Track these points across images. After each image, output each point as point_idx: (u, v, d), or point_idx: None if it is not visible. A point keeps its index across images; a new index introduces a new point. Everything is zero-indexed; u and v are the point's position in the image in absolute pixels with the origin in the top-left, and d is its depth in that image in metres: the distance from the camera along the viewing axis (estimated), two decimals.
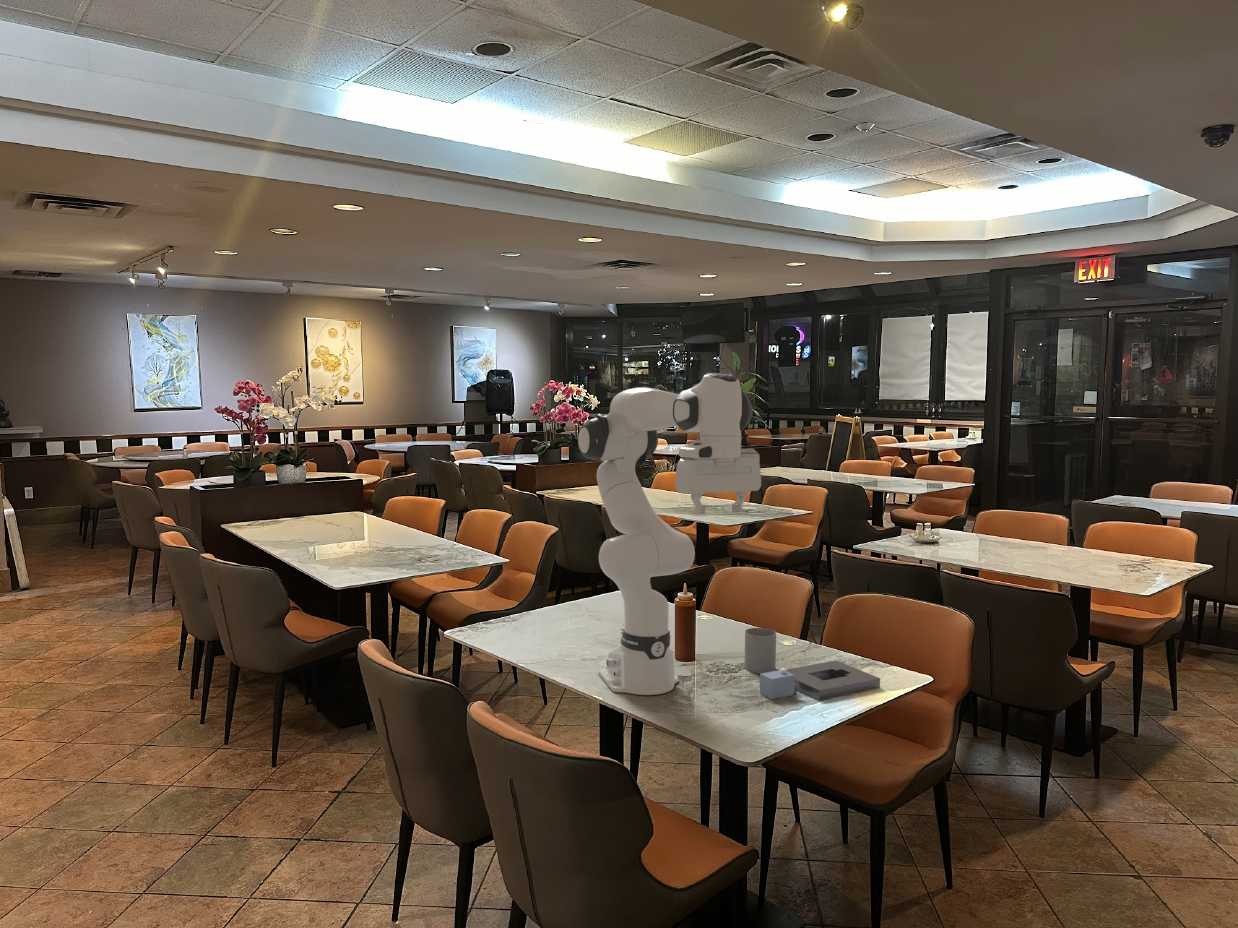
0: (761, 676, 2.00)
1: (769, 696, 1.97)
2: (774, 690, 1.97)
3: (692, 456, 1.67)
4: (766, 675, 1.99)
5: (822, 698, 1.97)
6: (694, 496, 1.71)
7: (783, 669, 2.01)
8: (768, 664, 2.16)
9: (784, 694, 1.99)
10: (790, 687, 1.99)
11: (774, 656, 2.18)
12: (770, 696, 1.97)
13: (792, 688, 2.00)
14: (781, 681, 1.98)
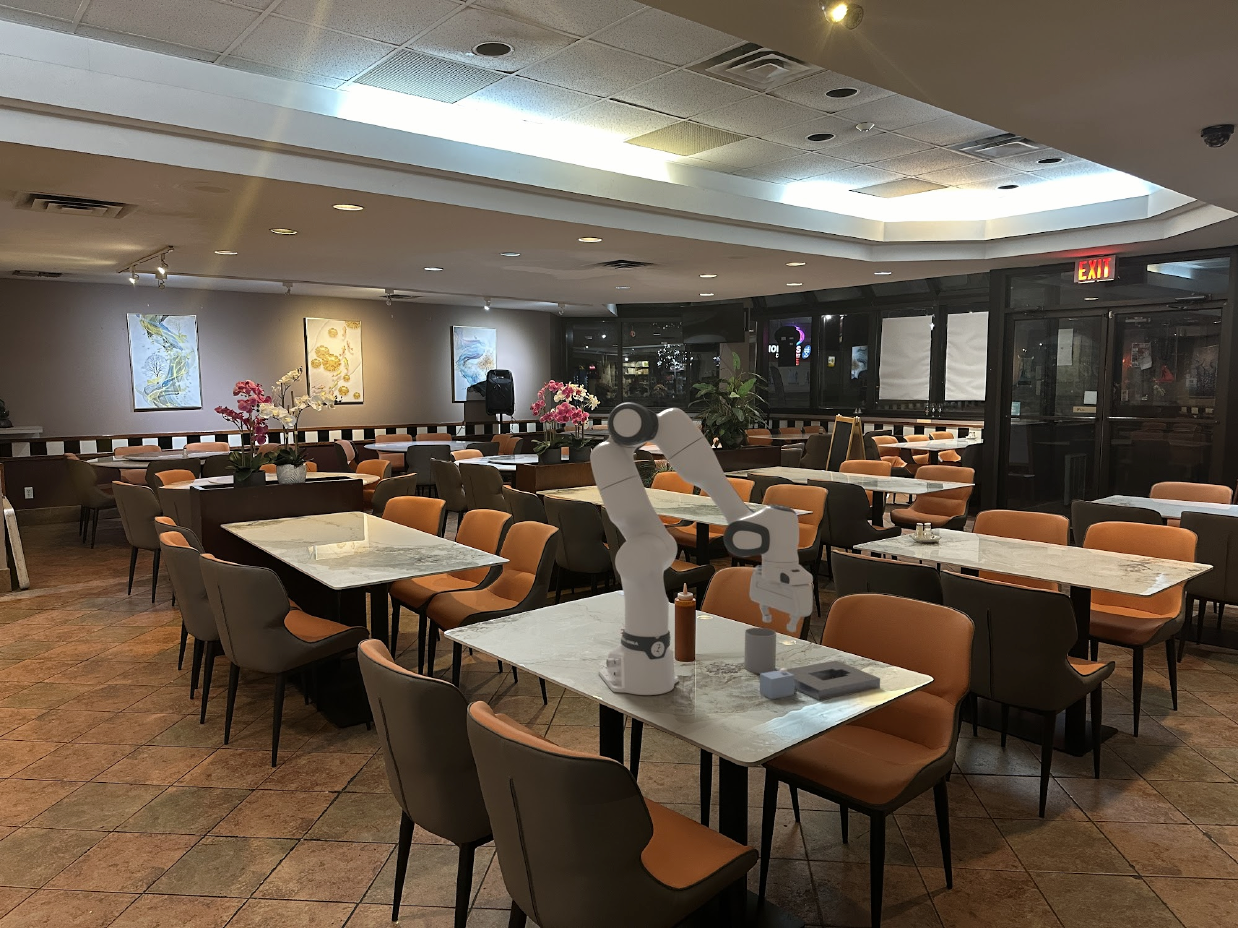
0: (761, 676, 2.00)
1: (769, 696, 1.97)
2: (774, 690, 1.97)
3: (810, 581, 1.92)
4: (766, 675, 1.99)
5: (822, 698, 1.97)
6: (797, 616, 1.93)
7: (783, 669, 2.01)
8: (768, 664, 2.16)
9: (784, 694, 1.99)
10: (790, 687, 1.99)
11: (774, 656, 2.18)
12: (770, 696, 1.97)
13: (792, 688, 2.00)
14: (781, 681, 1.98)
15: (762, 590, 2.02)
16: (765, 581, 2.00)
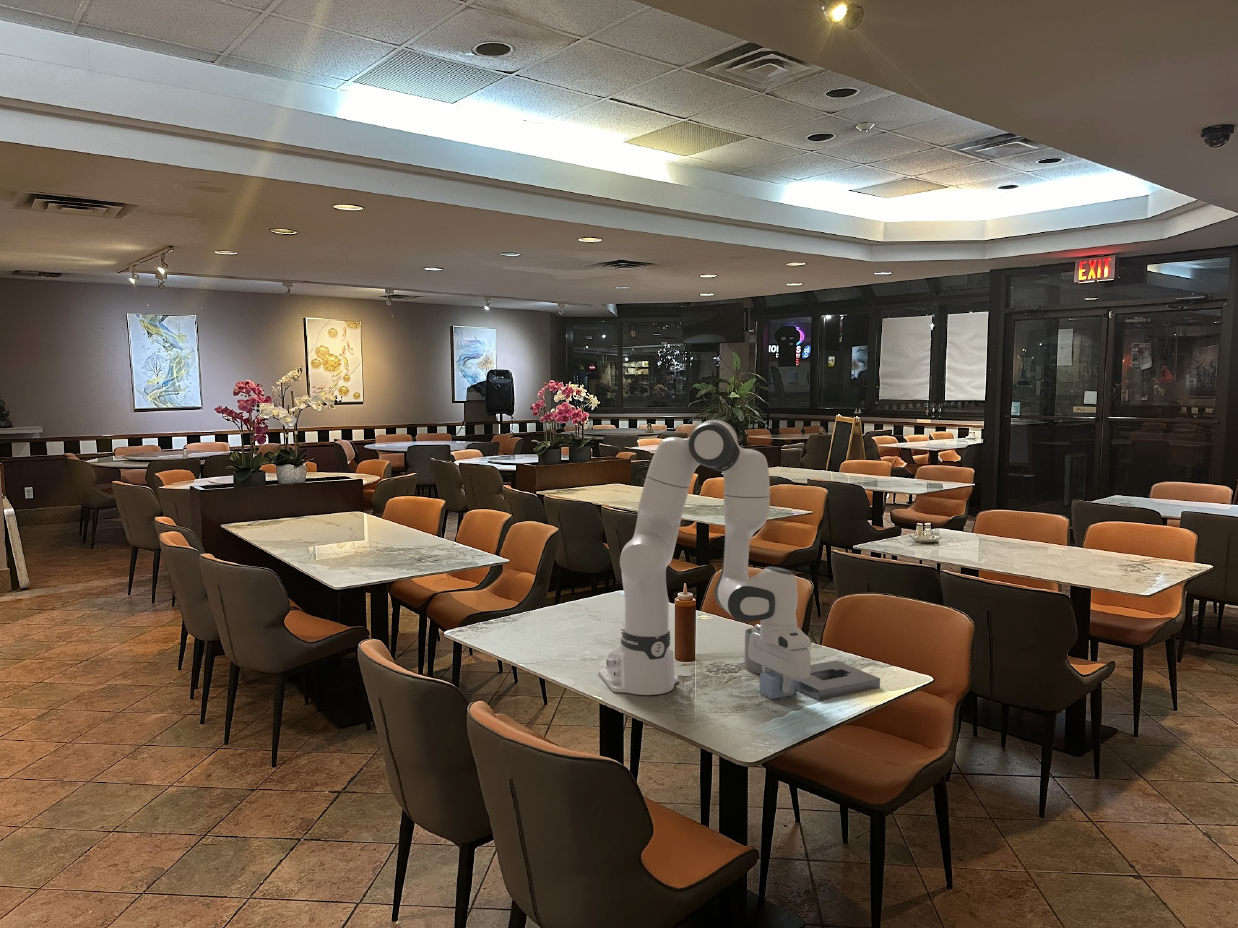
0: (761, 676, 2.00)
1: (769, 696, 1.97)
2: (774, 689, 1.97)
3: (808, 645, 1.93)
4: (766, 675, 1.99)
5: (822, 698, 1.97)
6: (790, 677, 1.96)
7: None
8: None
9: (784, 694, 1.99)
10: (790, 687, 1.99)
11: None
12: (770, 696, 1.97)
13: (792, 688, 2.00)
14: (781, 681, 1.98)
15: (760, 650, 2.03)
16: (763, 642, 2.02)
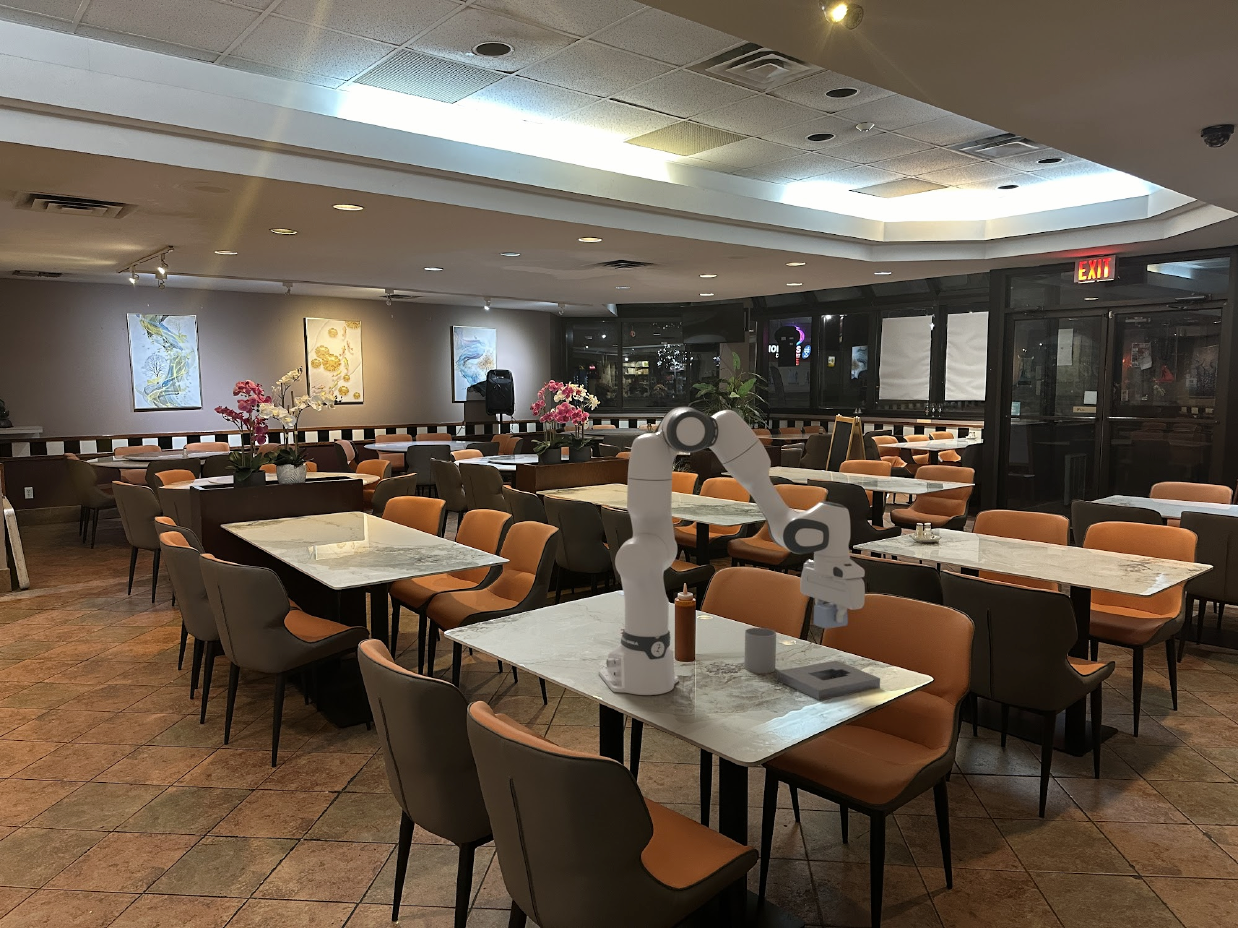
0: (815, 607, 2.06)
1: (823, 626, 2.04)
2: (829, 619, 2.04)
3: (862, 575, 1.99)
4: (820, 606, 2.06)
5: (822, 698, 1.97)
6: (844, 607, 2.02)
7: None
8: (768, 664, 2.16)
9: (838, 624, 2.05)
10: (843, 618, 2.06)
11: (774, 656, 2.18)
12: (824, 626, 2.03)
13: (845, 619, 2.06)
14: (835, 612, 2.04)
15: (813, 584, 2.09)
16: (817, 575, 2.08)
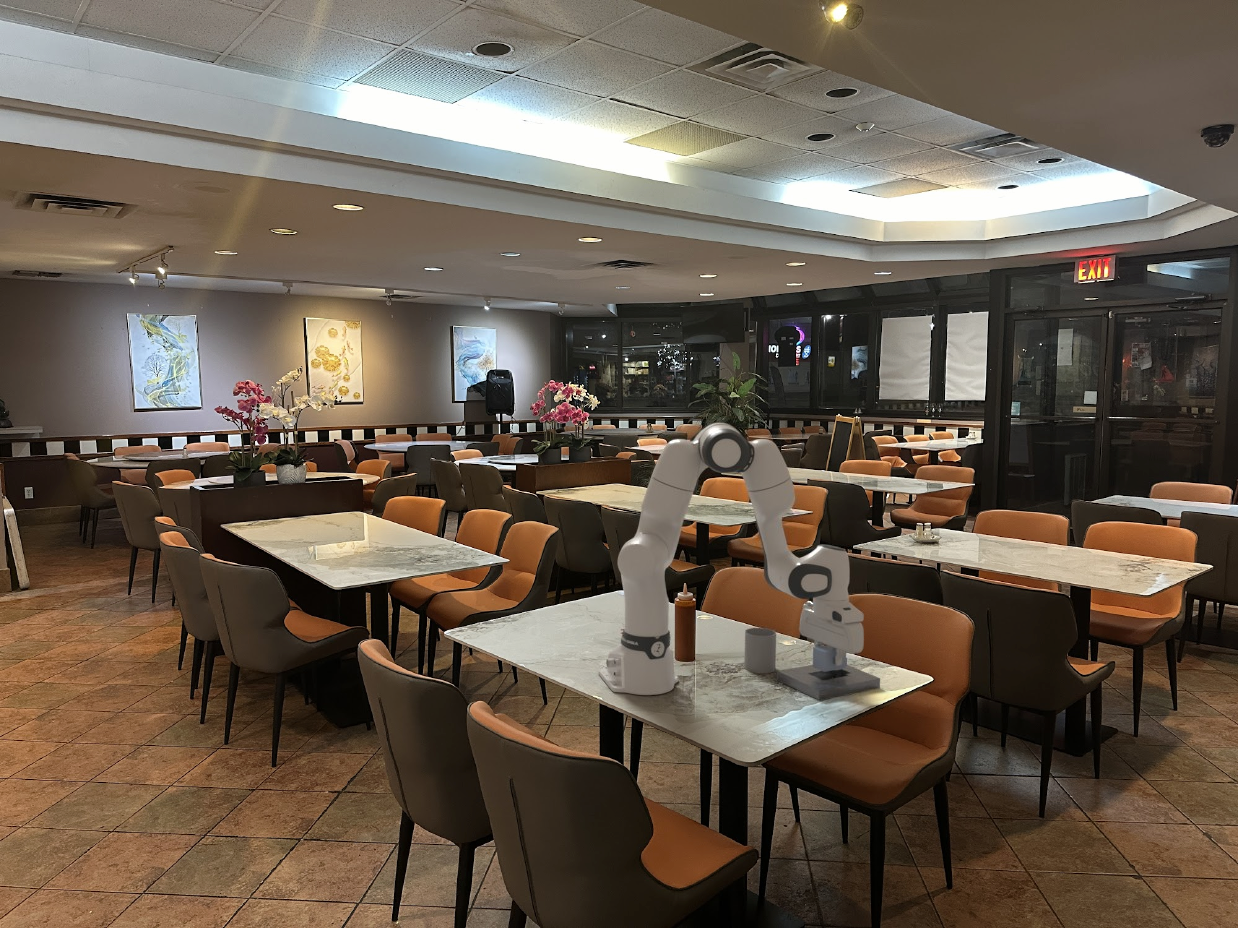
0: (814, 650, 2.07)
1: (823, 669, 2.04)
2: (828, 662, 2.04)
3: (861, 619, 2.00)
4: (819, 649, 2.06)
5: (822, 698, 1.97)
6: (843, 651, 2.03)
7: None
8: (768, 664, 2.16)
9: (837, 667, 2.06)
10: (842, 660, 2.07)
11: (774, 656, 2.18)
12: (824, 669, 2.04)
13: (844, 661, 2.07)
14: (834, 655, 2.05)
15: (813, 626, 2.10)
16: (816, 617, 2.09)
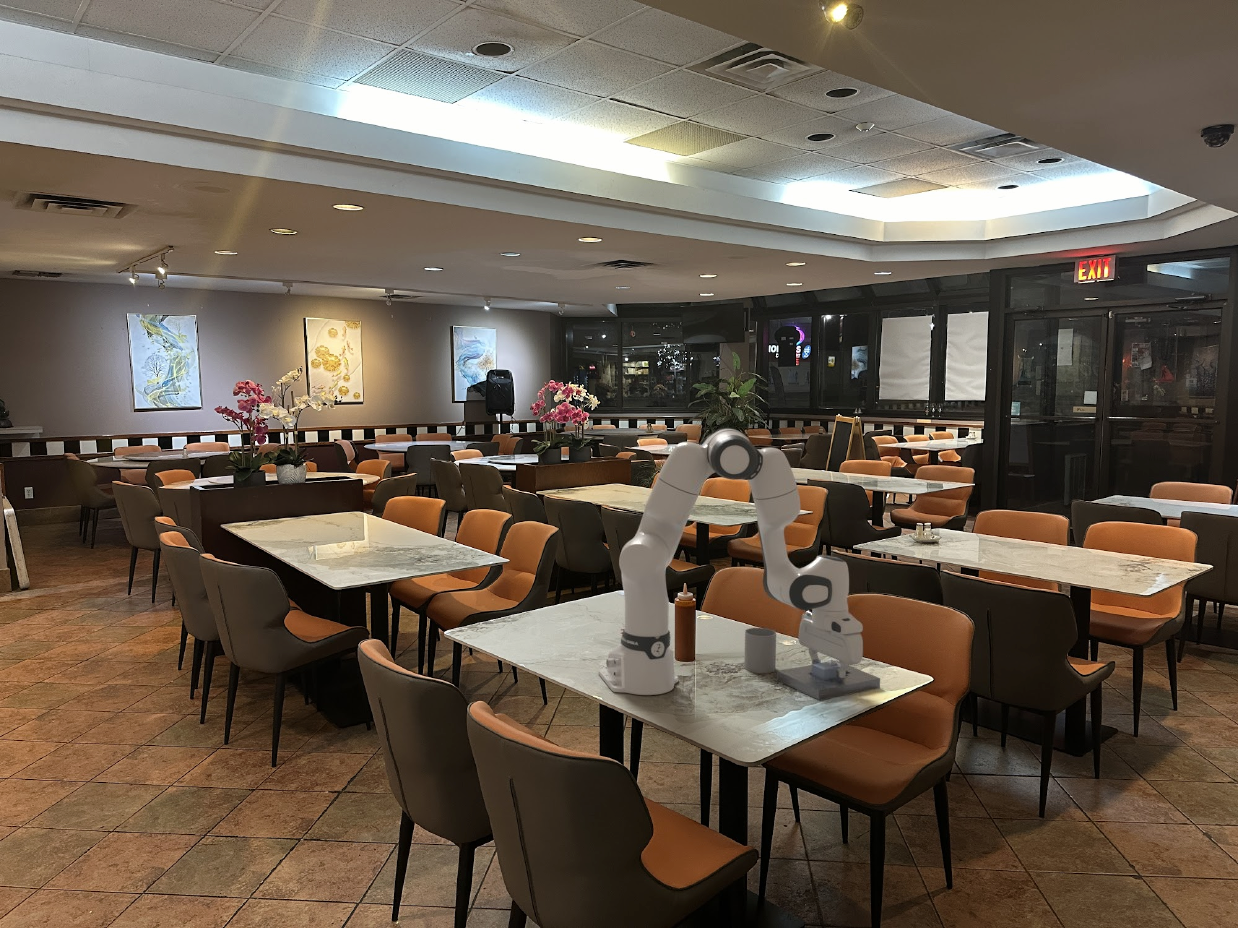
0: (813, 667, 2.08)
1: None
2: None
3: (861, 630, 2.00)
4: (818, 666, 2.07)
5: (822, 698, 1.97)
6: (847, 663, 2.02)
7: (834, 660, 2.08)
8: (768, 664, 2.16)
9: None
10: None
11: (774, 656, 2.18)
12: None
13: None
14: (833, 672, 2.06)
15: (812, 636, 2.10)
16: (815, 627, 2.09)
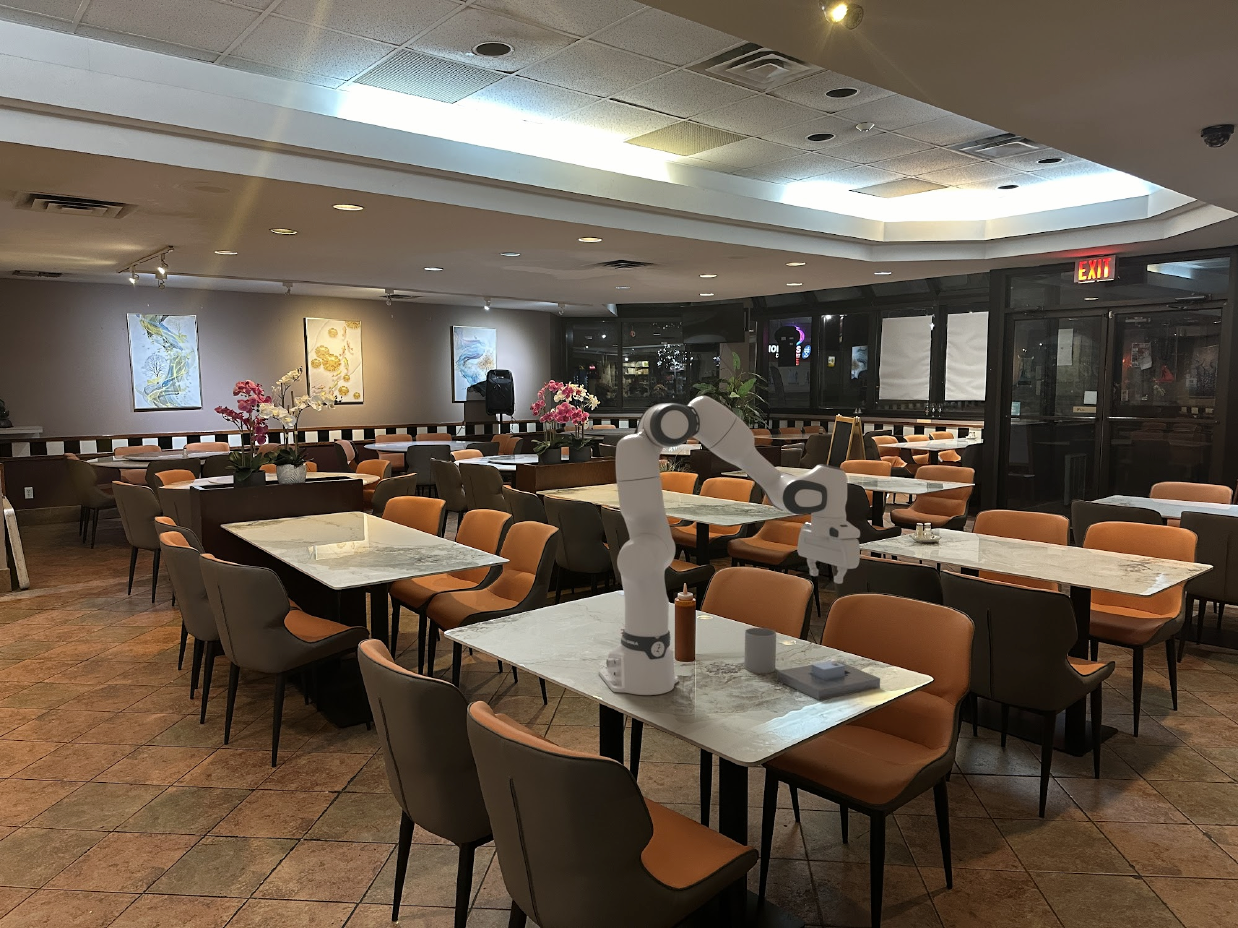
0: (813, 667, 2.08)
1: None
2: None
3: (858, 536, 2.05)
4: (818, 666, 2.07)
5: (822, 698, 1.97)
6: (844, 569, 2.06)
7: (834, 660, 2.08)
8: (768, 664, 2.16)
9: None
10: None
11: (774, 656, 2.18)
12: None
13: None
14: (833, 672, 2.06)
15: (810, 545, 2.15)
16: (813, 536, 2.13)
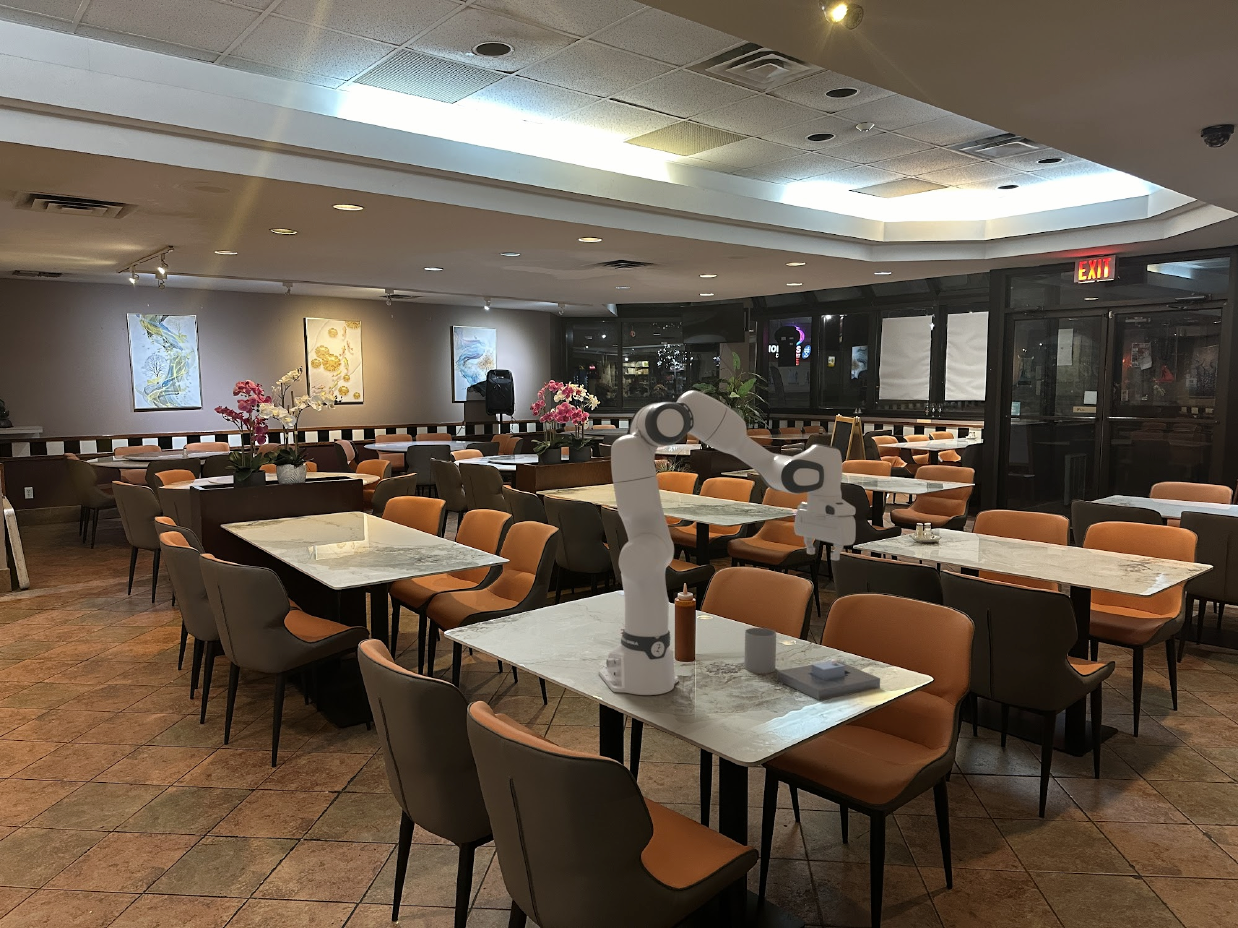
0: (813, 667, 2.08)
1: None
2: None
3: (853, 513, 2.09)
4: (818, 666, 2.07)
5: (822, 698, 1.97)
6: (841, 546, 2.10)
7: (834, 660, 2.08)
8: (768, 664, 2.16)
9: None
10: None
11: (774, 656, 2.18)
12: None
13: None
14: (833, 672, 2.06)
15: (807, 524, 2.19)
16: (810, 515, 2.17)
